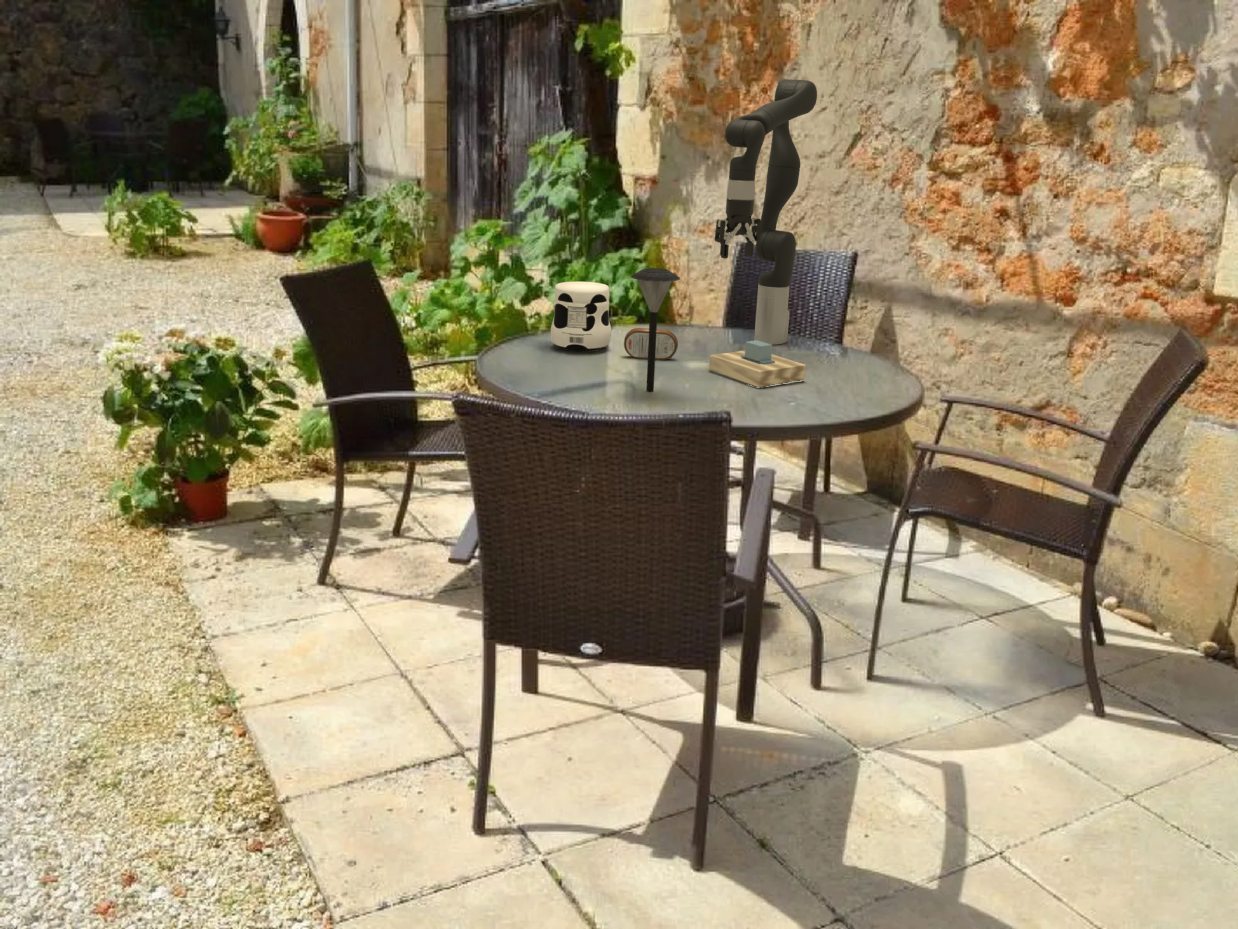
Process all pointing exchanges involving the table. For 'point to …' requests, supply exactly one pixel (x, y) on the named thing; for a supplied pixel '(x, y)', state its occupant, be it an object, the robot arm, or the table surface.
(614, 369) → the table surface
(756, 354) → the grey-blue stepped block
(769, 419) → the table surface
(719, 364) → the block
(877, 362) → the table surface
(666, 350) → the tin
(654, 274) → the solar garden light
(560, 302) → the milk container
